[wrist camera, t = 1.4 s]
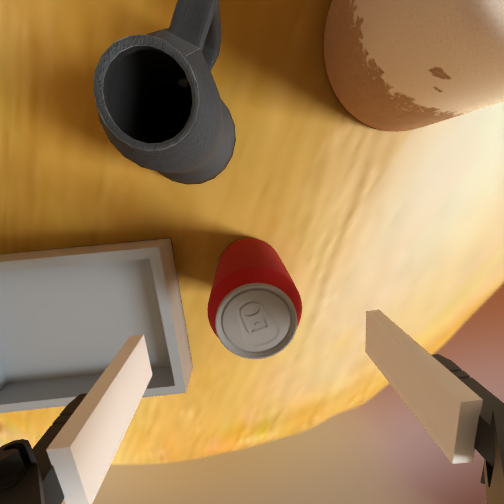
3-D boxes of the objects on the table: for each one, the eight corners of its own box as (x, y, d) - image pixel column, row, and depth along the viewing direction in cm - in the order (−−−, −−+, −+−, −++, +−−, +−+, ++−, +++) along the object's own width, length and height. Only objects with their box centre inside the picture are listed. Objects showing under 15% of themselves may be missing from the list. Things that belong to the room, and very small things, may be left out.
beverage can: (232, 303, 29) (228, 381, 17) (208, 250, 27) (186, 297, 16) (288, 282, 29) (321, 348, 17) (267, 227, 27) (288, 258, 15)
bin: (-44, 258, 26) (-93, 270, 22) (170, 238, 27) (158, 246, 23) (8, 386, 30) (-26, 415, 26) (192, 366, 31) (186, 392, 27)
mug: (215, 199, 26) (198, 208, 15) (127, 161, 25) (39, 142, 14) (262, 76, 23) (282, -17, 13) (167, 28, 22) (98, -124, 11)
